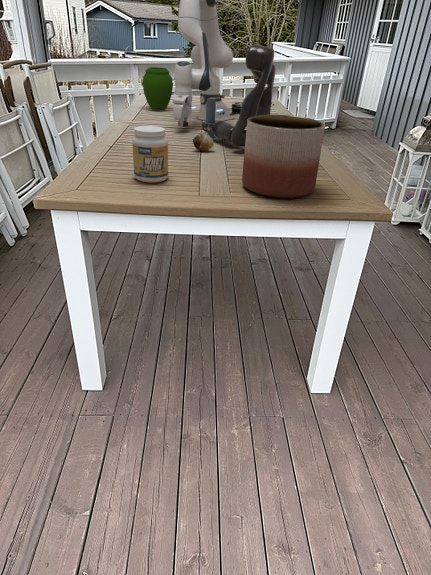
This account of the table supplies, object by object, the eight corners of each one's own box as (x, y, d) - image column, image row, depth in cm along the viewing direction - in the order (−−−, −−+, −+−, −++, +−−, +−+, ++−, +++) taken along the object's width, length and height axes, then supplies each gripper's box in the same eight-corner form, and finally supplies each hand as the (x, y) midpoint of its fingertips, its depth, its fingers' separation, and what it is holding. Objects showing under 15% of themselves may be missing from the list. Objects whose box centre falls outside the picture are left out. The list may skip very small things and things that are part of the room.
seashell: (212, 149, 186) (213, 131, 181) (214, 152, 181) (215, 133, 177) (191, 149, 184) (192, 130, 180) (193, 152, 180) (193, 133, 175)
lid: (176, 125, 217) (176, 121, 216) (185, 124, 219) (185, 120, 218) (181, 127, 213) (181, 123, 212) (190, 126, 216) (190, 122, 214)
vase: (143, 107, 275) (142, 66, 262) (173, 108, 277) (172, 67, 264) (142, 112, 259) (140, 68, 246) (173, 113, 261) (173, 70, 248)
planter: (325, 200, 135) (339, 130, 123) (251, 201, 131) (257, 128, 119) (299, 176, 156) (309, 114, 144) (234, 177, 152) (239, 113, 140)
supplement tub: (139, 184, 140) (136, 133, 131) (130, 174, 149) (127, 125, 140) (173, 181, 144) (172, 131, 135) (162, 172, 153) (161, 124, 144)
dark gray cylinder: (215, 137, 208) (217, 98, 199) (212, 138, 205) (213, 99, 195) (207, 135, 210) (208, 97, 200) (203, 137, 206) (204, 98, 196)
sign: (232, 108, 269) (231, 101, 294) (232, 113, 270) (230, 106, 296) (261, 109, 269) (257, 102, 295) (260, 114, 271) (257, 107, 296)
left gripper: (183, 94, 218) (183, 122, 225) (171, 99, 201) (171, 129, 208) (194, 95, 217) (194, 123, 224) (183, 100, 200) (183, 130, 207)
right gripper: (237, 121, 195) (220, 115, 207) (211, 123, 189) (195, 116, 201) (236, 138, 199) (219, 130, 211) (210, 140, 193) (194, 132, 205)
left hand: (183, 126), depth 216 cm, fingers closed on lid, 5 cm apart
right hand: (207, 123), depth 206 cm, fingers closed on dark gray cylinder, 4 cm apart
